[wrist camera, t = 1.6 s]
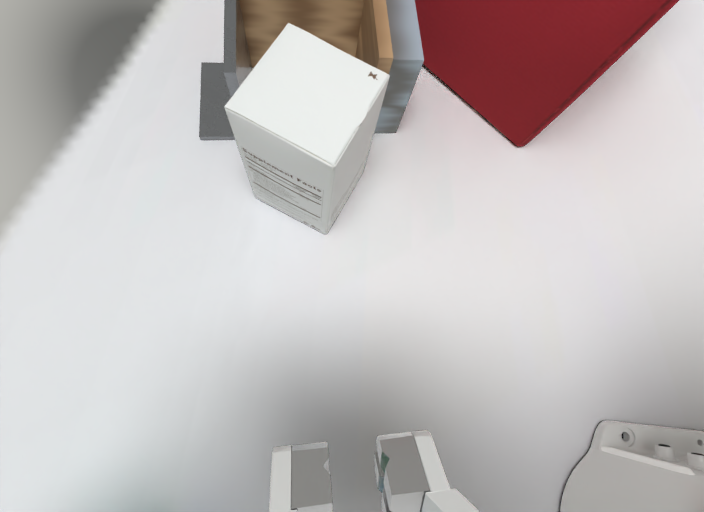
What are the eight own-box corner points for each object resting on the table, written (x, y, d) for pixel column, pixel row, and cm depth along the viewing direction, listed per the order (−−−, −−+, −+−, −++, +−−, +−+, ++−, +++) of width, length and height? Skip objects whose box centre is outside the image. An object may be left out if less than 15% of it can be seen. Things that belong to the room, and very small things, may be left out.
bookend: (252, 67, 43) (236, -16, 34) (252, 139, 41) (235, 72, 31) (203, 66, 43) (172, -19, 33) (200, 140, 40) (167, 71, 31)
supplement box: (295, 134, 42) (288, 16, 27) (365, 171, 41) (395, 72, 27) (251, 197, 39) (218, 104, 25) (325, 238, 39) (336, 167, 24)
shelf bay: (387, 62, 46) (413, -38, 34) (396, 139, 43) (428, 58, 31) (241, 58, 43) (217, -49, 32) (241, 139, 41) (215, 53, 29)
